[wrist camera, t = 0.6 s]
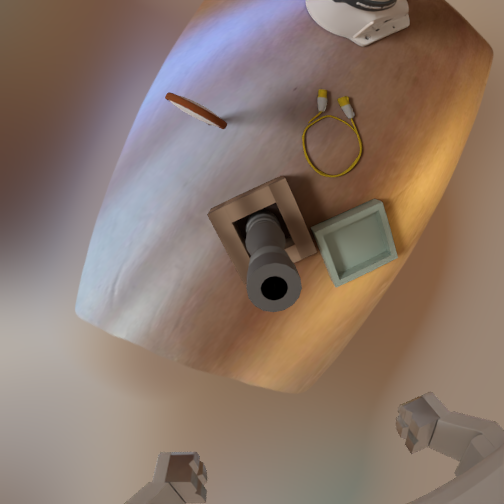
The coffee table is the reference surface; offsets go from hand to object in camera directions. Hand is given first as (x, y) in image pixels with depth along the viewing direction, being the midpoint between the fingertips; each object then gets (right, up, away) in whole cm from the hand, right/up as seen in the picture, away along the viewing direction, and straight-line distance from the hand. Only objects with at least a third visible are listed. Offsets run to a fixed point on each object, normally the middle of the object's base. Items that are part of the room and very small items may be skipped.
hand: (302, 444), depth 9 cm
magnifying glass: (-9, +30, +38) cm, 49 cm away
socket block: (0, +12, +44) cm, 46 cm away
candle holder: (0, +12, +44) cm, 46 cm away
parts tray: (+18, +10, +45) cm, 50 cm away
